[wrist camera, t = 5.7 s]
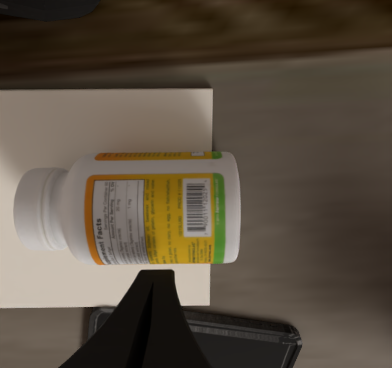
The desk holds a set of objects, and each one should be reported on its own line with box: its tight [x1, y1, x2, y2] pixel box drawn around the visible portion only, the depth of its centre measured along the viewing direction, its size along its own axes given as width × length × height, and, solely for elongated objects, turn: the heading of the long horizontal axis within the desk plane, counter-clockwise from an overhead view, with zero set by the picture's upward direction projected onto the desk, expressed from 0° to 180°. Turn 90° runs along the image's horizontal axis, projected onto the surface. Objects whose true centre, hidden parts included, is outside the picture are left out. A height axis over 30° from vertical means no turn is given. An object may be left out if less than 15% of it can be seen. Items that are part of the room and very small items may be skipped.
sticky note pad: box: [0, 88, 213, 308], centre depth 19 cm, size 14×14×1 cm
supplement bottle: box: [13, 152, 241, 265], centre depth 16 cm, size 5×5×10 cm
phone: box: [88, 306, 302, 368], centre depth 24 cm, size 8×1×15 cm
